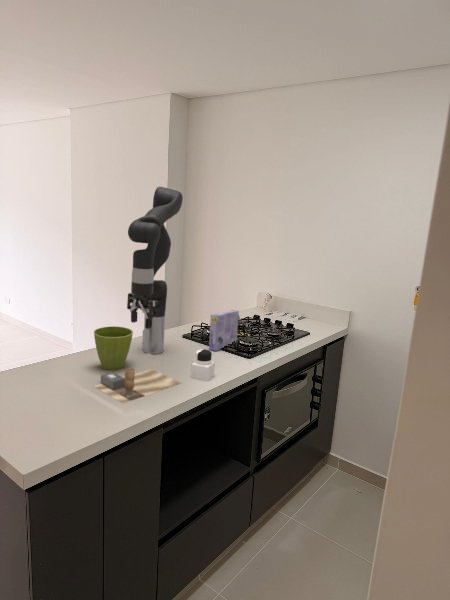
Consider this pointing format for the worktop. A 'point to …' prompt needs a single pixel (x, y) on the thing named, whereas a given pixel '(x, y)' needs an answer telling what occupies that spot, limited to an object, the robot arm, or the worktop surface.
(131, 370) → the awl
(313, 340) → the worktop surface
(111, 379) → the block
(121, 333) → the flower pot
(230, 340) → the cake pan box
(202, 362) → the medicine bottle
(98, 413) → the worktop surface
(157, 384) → the subfloor panel
